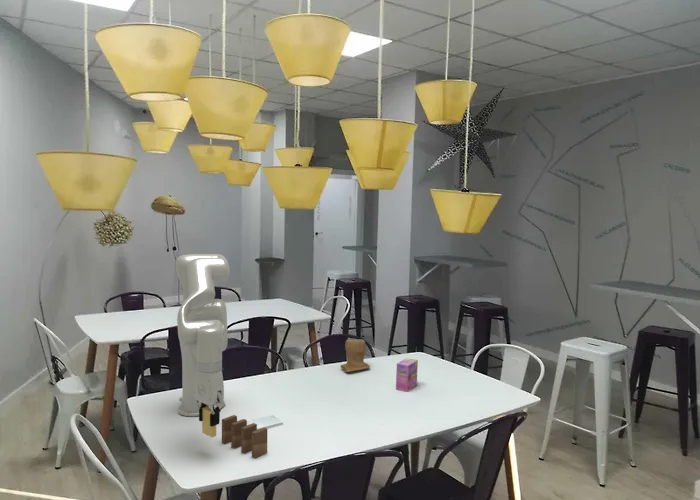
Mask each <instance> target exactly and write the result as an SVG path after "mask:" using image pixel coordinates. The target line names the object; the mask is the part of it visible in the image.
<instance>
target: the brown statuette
mask: <svg viewBox="0 0 700 500" xmlns="http://www.w3.org/2000/svg"><path fill="white" fill-rule="evenodd" d="M344 349H345V351H346V353H345V354H346V358H347V360H346V363H344V364H341V365H340V369H341V370H342V371H343V372H344V373H351V372H358V371H363V370H367V369H370V368H371V365H369V364H368V363H365V361H364V360H365V359H364V358H365V356H366V349H367V346H366V341H365V340H364V339H361V338H360V339H359V338H357V339H356V338H355V339H353V338H350V339H346V341H345V344H344Z"/></svg>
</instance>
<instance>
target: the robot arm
mask: <svg viewBox="0 0 700 500" xmlns="http://www.w3.org/2000/svg"><path fill="white" fill-rule="evenodd" d="M175 269H176V274H177V277H178V279H179V282H180V285H181V288H182V304H181V305H180V306H179V309H178V311H177V319H176V322H177V323H176V324H177V325H176V326H177V335H178V336H177V337H178V340H179V346H180V347H179V348H180V352H181V353H180V354H181V365H182V366H181V368H182V370H181V372H182V373H181V374H182V378H181V379H182V380H181V381H182V389H181V390H182V396H180V397H179V401H180V402H181V405H180V406H179V407H178V409H177V413H178V414H179V415H182V416H184V417H198V421H199V422H202V421H203V409H202V408H204V407H209V408H211V414H210V426H211V427H212V426H215V425H216V426H218V425H220V421H221V419H220V413H221V412H222V410H223V409H224V408H225V407H226V403H225V399H224V398H225V389H224V388H225V385H224V376H223V352H224V351H225V350H226V349H227V348H228V339H229V338H228V314H227V313H228V311H227V305H226V303H225V301H224V300H223V299H220V298H215V297H216V291H215V284H214V283H215V282H219V281H220V282H222V281H223V282H224V281H227V280H228V279H229V277H230V273H231V272H230V264H229V261H228V260H227V258H226V257H225V256H224V255H223V254H220V253H191V254H188V253H187V254H183V255H180V256H178V257H177V258H176V260H175ZM215 406H216V407H215Z"/></svg>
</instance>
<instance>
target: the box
mask: <svg viewBox="0 0 700 500" xmlns="http://www.w3.org/2000/svg"><path fill="white" fill-rule="evenodd" d="M418 362H419V360H418V359H415V358H409V357H406V358H404V359H402V360H401V361H399V362H397V363H396V377H395V390H396V391H401V392H406V393H408V392H409V391H411V390H412V389H414V388H416V386H417V385H418V366H419V365H418V364H419V363H418Z"/></svg>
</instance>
